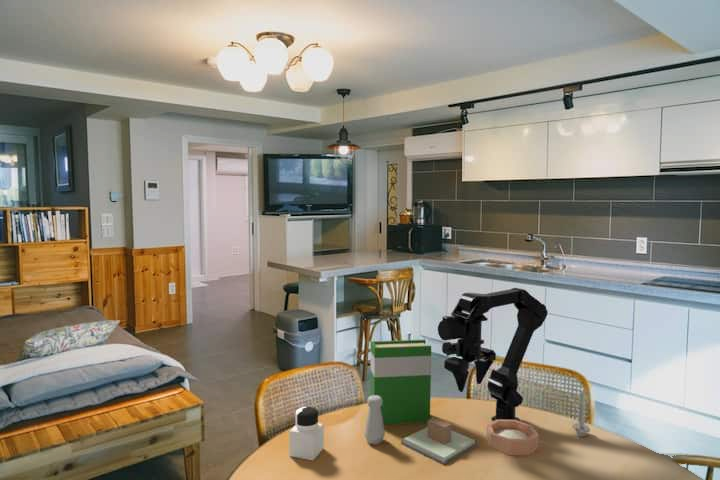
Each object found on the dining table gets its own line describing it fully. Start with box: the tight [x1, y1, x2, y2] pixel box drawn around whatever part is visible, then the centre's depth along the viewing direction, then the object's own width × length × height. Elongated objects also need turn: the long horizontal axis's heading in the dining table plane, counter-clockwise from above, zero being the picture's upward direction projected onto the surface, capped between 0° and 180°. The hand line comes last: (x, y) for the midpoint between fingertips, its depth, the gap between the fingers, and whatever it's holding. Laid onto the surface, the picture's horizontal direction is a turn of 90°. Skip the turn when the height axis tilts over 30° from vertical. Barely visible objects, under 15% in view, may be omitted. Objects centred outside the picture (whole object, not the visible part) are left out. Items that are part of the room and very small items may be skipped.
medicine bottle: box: [288, 406, 325, 462], centre depth 131 cm, size 7×7×12 cm
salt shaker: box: [363, 395, 386, 446], centre depth 138 cm, size 6×6×13 cm
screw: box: [571, 391, 591, 438], centre depth 142 cm, size 13×5×5 cm
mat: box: [400, 439, 478, 466], centre depth 136 cm, size 15×15×1 cm
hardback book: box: [369, 339, 432, 426], centre depth 152 cm, size 18×7×24 cm, turn 98°
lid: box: [403, 416, 476, 461], centre depth 136 cm, size 14×14×6 cm
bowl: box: [486, 419, 540, 456], centre depth 137 cm, size 13×13×4 cm
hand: (469, 387), depth 144 cm, fingers open, 9 cm apart
